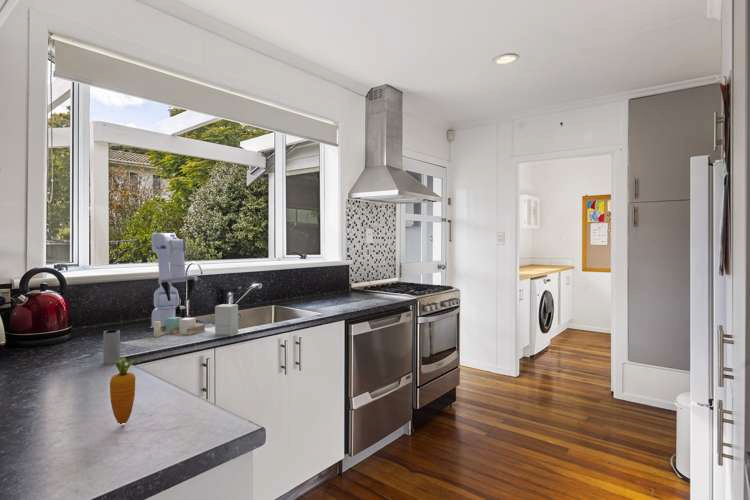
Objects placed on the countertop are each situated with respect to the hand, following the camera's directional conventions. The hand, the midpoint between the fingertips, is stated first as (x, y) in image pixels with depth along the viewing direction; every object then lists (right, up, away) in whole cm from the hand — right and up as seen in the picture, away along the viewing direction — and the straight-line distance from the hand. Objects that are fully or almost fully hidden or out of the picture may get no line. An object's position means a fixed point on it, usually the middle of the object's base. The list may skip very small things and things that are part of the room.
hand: (179, 299), depth 172 cm
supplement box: (+16, -16, +8) cm, 24 cm away
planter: (-6, -17, -35) cm, 39 cm away
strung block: (-8, -15, +5) cm, 18 cm away
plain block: (0, -15, +8) cm, 17 cm away
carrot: (+25, -18, -81) cm, 87 cm away
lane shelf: (-3, -16, +9) cm, 18 cm away
